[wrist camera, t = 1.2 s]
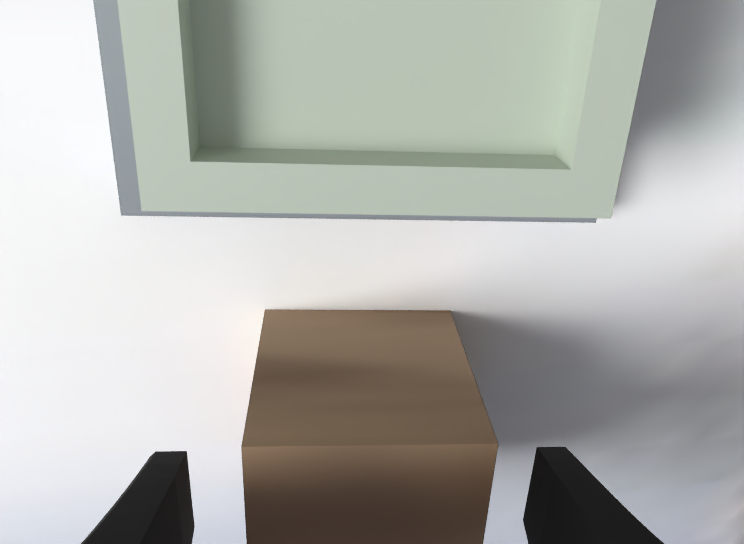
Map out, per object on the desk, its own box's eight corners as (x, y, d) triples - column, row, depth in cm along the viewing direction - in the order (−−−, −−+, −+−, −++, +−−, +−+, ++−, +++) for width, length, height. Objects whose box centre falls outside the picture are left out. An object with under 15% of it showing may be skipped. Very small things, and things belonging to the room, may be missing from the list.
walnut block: (434, 453, 18) (471, 617, 14) (270, 455, 18) (251, 623, 13) (449, 309, 16) (498, 443, 12) (264, 308, 16) (241, 446, 11)
